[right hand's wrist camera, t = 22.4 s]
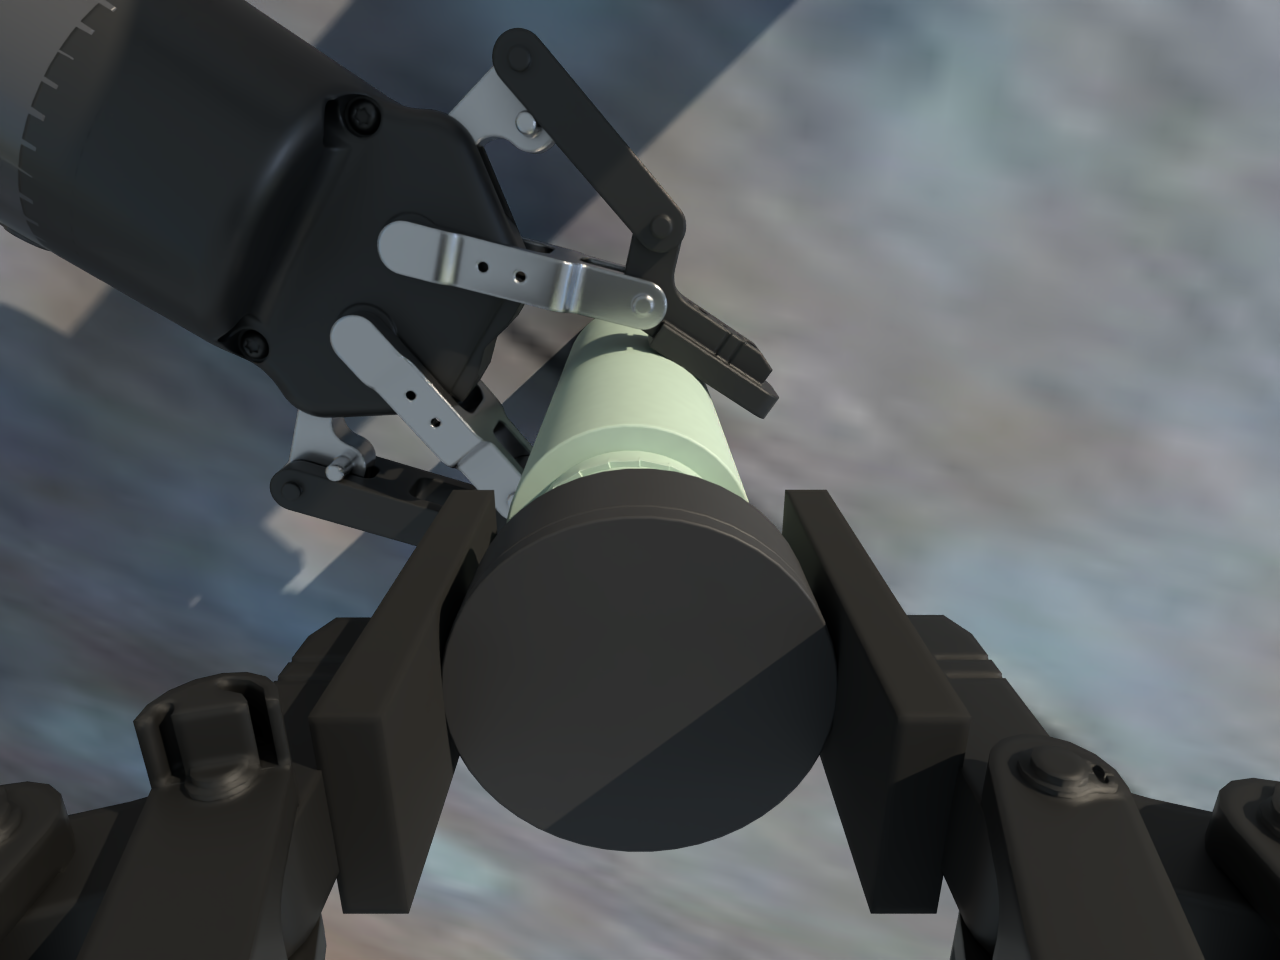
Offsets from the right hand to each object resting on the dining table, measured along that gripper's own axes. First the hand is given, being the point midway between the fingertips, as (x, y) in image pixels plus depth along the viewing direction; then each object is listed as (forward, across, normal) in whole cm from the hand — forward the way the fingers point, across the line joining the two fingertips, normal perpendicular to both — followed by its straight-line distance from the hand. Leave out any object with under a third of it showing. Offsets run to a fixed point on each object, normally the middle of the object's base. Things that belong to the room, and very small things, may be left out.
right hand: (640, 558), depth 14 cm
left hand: (+8, -2, +1) cm, 8 cm away
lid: (-4, 0, 0) cm, 4 cm away
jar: (+14, 0, 0) cm, 14 cm away
